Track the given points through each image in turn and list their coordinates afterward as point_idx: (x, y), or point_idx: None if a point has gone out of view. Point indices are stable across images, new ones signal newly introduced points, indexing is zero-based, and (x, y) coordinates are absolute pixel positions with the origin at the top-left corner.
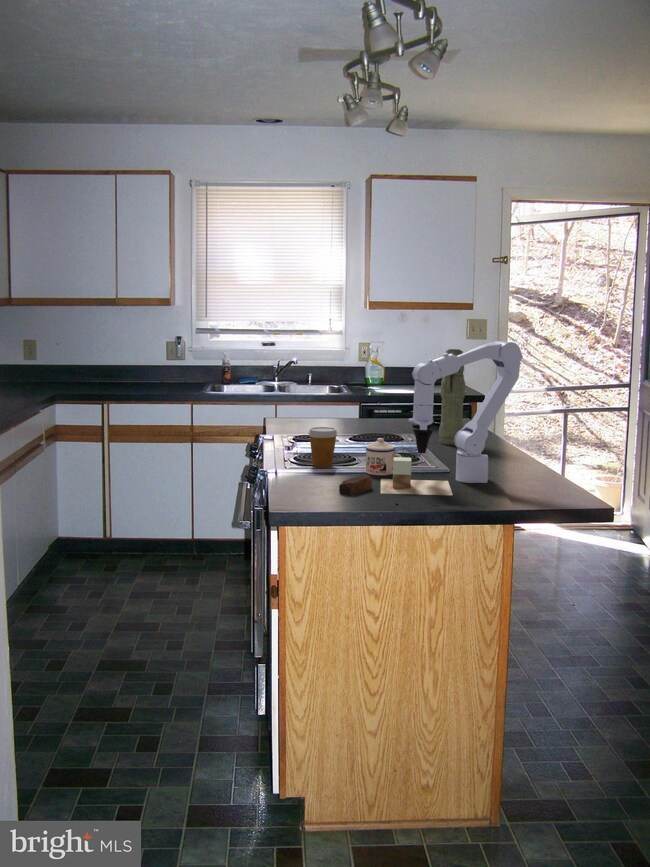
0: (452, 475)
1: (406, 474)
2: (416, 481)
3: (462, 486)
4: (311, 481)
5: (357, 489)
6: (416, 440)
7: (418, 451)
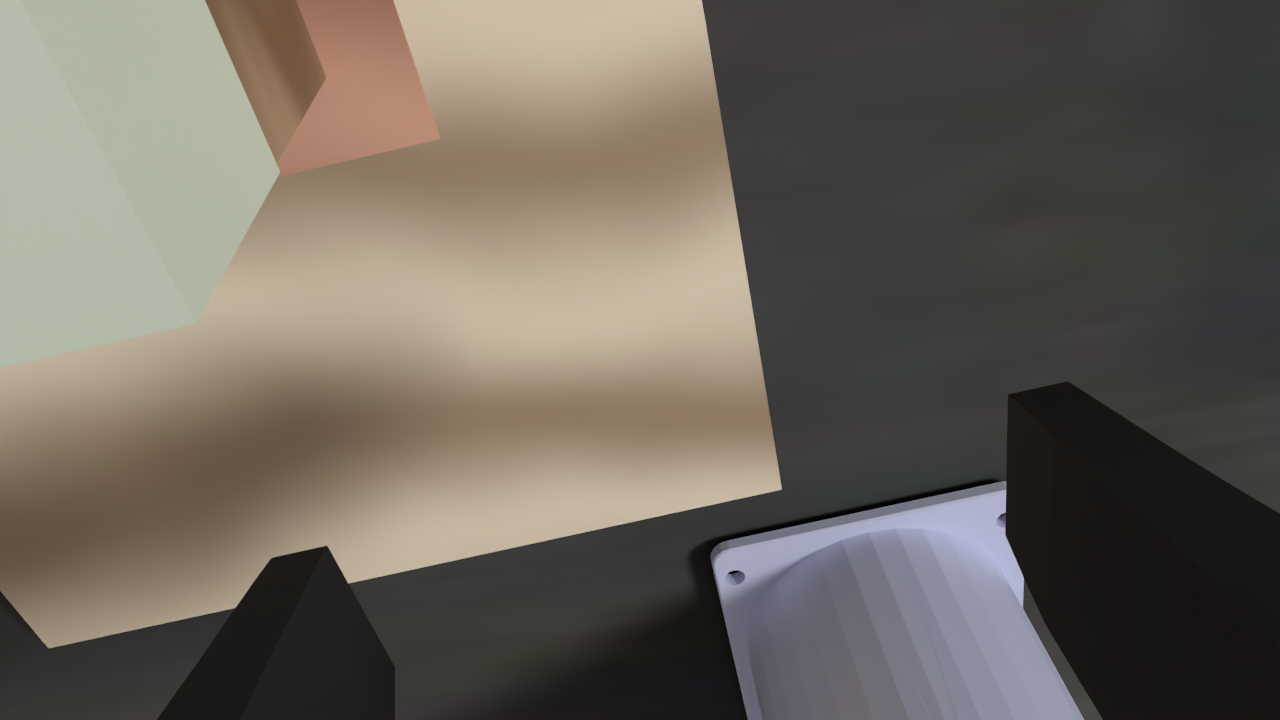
0: (1269, 423)
1: None
2: (610, 130)
3: (706, 594)
4: None
5: None
6: (1144, 528)
7: (255, 592)
